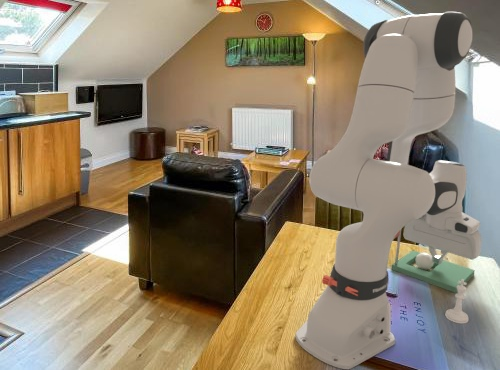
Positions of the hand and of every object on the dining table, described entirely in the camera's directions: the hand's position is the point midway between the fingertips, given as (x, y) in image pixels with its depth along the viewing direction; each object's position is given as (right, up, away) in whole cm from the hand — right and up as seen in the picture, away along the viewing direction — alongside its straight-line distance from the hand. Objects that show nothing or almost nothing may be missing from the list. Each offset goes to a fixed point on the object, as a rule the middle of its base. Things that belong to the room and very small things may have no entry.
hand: (436, 262), depth 111 cm
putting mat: (-2, -3, 0) cm, 4 cm away
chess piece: (-5, -9, -20) cm, 22 cm away
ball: (-2, 0, +3) cm, 4 cm away
